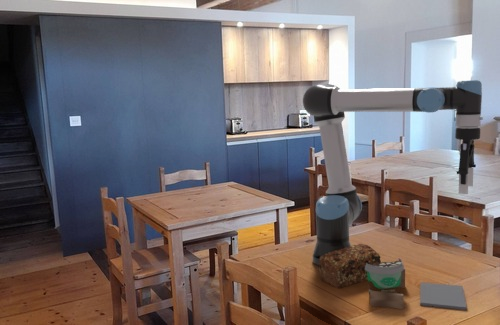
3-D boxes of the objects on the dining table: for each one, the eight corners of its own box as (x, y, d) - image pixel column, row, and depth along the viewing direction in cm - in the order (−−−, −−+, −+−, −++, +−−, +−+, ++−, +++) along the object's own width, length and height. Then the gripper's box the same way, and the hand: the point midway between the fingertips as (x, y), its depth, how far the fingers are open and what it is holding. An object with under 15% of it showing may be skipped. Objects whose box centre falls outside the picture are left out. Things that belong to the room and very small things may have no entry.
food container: (375, 303, 134) (375, 270, 133) (364, 294, 140) (364, 263, 139) (412, 296, 137) (412, 264, 136) (400, 288, 143) (400, 257, 142)
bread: (361, 267, 162) (360, 240, 161) (382, 277, 153) (382, 248, 152) (317, 279, 154) (316, 250, 153) (337, 290, 145) (337, 259, 143)
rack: (370, 305, 133) (370, 285, 132) (375, 283, 148) (375, 265, 147) (403, 309, 130) (403, 288, 129) (405, 286, 145) (405, 267, 144)
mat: (420, 305, 131) (420, 302, 131) (420, 284, 145) (420, 282, 145) (466, 310, 127) (466, 307, 127) (462, 288, 141) (462, 285, 141)
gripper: (476, 130, 141) (473, 198, 144) (484, 124, 162) (481, 183, 165) (449, 130, 145) (448, 196, 148) (460, 124, 166) (459, 182, 169)
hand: (465, 189), depth 157 cm, fingers open, 13 cm apart
